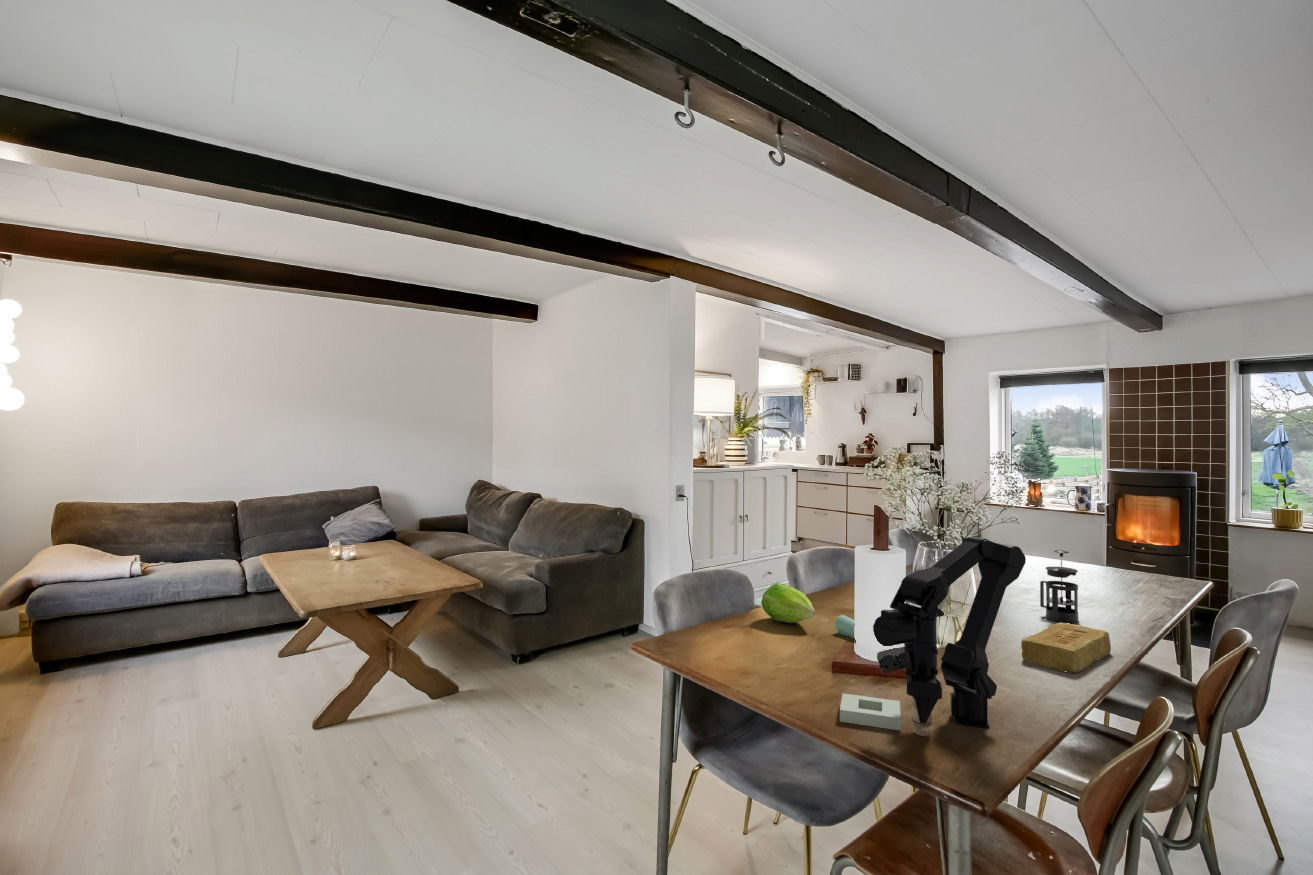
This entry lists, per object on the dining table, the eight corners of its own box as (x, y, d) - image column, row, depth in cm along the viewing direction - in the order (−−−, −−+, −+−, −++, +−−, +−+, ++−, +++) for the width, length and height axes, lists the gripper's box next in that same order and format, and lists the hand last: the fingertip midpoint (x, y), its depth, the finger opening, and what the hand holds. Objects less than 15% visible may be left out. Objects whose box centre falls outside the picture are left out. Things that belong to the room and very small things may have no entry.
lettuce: (795, 635, 188) (795, 596, 188) (753, 619, 205) (753, 583, 205) (828, 628, 195) (828, 590, 195) (785, 613, 212) (785, 578, 212)
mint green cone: (905, 640, 166) (834, 616, 190) (905, 661, 166) (834, 633, 190) (919, 638, 169) (847, 613, 193) (919, 658, 169) (847, 631, 192)
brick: (1020, 665, 166) (1018, 639, 166) (1058, 644, 182) (1056, 621, 182) (1077, 677, 155) (1074, 649, 155) (1112, 653, 171) (1110, 628, 172)
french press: (1086, 621, 202) (1086, 551, 202) (1072, 625, 197) (1071, 554, 197) (1048, 613, 212) (1048, 546, 212) (1034, 617, 207) (1033, 549, 207)
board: (899, 712, 134) (899, 700, 134) (900, 730, 125) (900, 718, 125) (842, 704, 138) (842, 693, 138) (839, 721, 130) (839, 709, 130)
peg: (931, 730, 126) (930, 686, 126) (932, 738, 122) (932, 693, 122) (911, 727, 127) (911, 683, 127) (912, 735, 123) (912, 690, 124)
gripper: (879, 622, 136) (879, 692, 136) (878, 648, 119) (879, 729, 119) (934, 627, 132) (934, 699, 132) (942, 655, 115) (942, 739, 115)
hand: (921, 715), depth 125 cm, fingers open, 6 cm apart
